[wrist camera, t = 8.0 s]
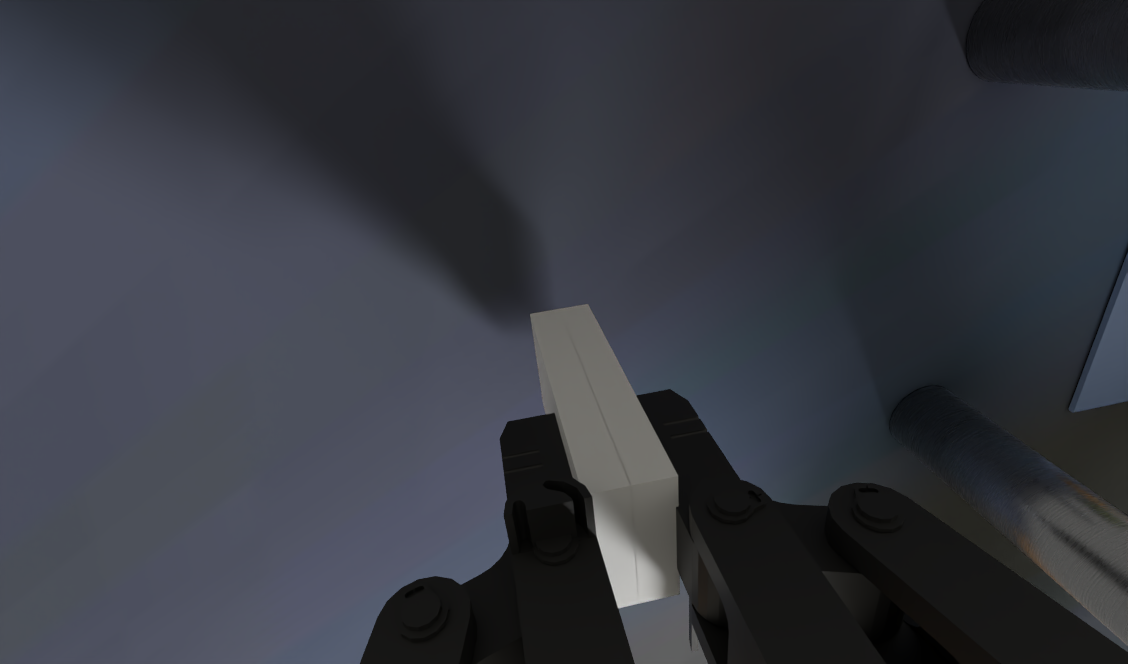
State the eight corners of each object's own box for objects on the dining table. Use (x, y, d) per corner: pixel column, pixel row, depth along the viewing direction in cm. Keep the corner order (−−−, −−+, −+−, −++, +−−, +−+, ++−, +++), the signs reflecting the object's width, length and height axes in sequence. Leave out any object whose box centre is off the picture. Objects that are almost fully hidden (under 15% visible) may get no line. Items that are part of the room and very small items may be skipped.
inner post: (945, 435, 22) (1230, 662, 14) (884, 448, 21) (1139, 687, 13) (959, 380, 20) (1281, 593, 13) (895, 392, 20) (1182, 618, 12)
